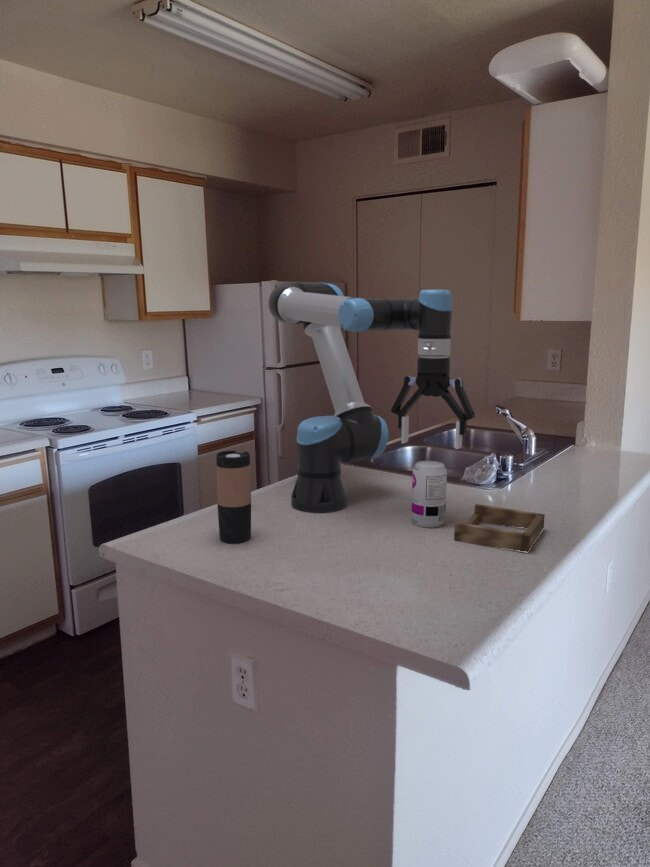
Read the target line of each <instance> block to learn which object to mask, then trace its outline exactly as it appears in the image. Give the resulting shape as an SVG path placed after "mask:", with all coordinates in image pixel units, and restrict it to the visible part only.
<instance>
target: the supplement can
mask: <svg viewBox="0 0 650 867" xmlns="http://www.w3.org/2000/svg"><path fill="white" fill-rule="evenodd" d="M414 463H415V465H414V466H413V468H412V485H411V486H412V487H411V510H410V511H411V512H410V513H411V516H410V517H411V518H410V520H411V522H413V524H414V525H415V526H418V527H421V528H428V529H429V528H431V529H432V528H434V529H435V528H439V527H441V526H443V525H444V523H445V522H446V506H447V505H446V504H447V502H446V501H447V483H448V482H447V481H448V480H447V478H448V470H447V468H446V467H445V463H443V462H441V461H436V460H420V461H417V462H414Z"/></svg>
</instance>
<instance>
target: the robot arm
mask: <svg viewBox="0 0 650 867" xmlns="http://www.w3.org/2000/svg"><path fill="white" fill-rule="evenodd" d="M452 300H453V297H452V292H451V291H450V290H448V289H422V290H420V292H419V295H418V298H365V297H354V296H353V297H352V296H346V295H344V293H343V291H342V290H341V289H340V288H339V287H338V286H337V285H335V284H333V283H327V282H296V281H295V282H294V281H293V282H290V281H289V282H284V283H282V284H281V283H280V284H279V285H277V286H276V287H275V288H274V289H273V290H272V291H271V292H270V295H269V297H268V302H267V304H268V310H269V312H270V314H271V315H272V317H273V318H274V319H275V320H277V321H279V322H280V323H283V324H290V325H291V324H292V325H293V324H294V325H301V326H302V327H303V331H304V333H305V335H306V336H309V337H310V338H311V339H312V341H313V345H314V349H315V351H316V353H317V354H316V355H317V358H318V361H319V364H320V366H321V367H320V368H321V371H322V373H323V377H324V381H325V383H326V387H327V390H328V393H329V396H330V399H331V402H332V405H333V409H334V412H335V413H334V415H323V416H321V415H319V416H312V417H310V418H307V419H304V420H302V421H301V422H300V423H299V425H298V426H297V433H296V444H297V445H296V447H297V449H296V452H297V453H296V454H297V459H296V460H297V462H296V463H297V468H296V469H297V478H296V480H295V483H294V487H293V489H292V493H291V498H290V501H291V502H290V505H291V507H292V508H294V509H296V510H299V511H301V512H302V511H303V512H309V513H330V512H336V511H340V510H343V509H345V507H347V506H348V494H347V492H346V491H347V490H346V489H345V486H344V482H343V479H342V471H341V470H342V464H345V463H350V462H351V463H352V462H357V461H361V460H362V461H363V460H364V461H365V460H370V459H373V458H377V457H379V456H381V454H383V453H384V451H385V450H386V448H387V444H388V441H389V428H388V426H387V422H386V420H385V419H384V418H382V417H381V416H379V415H376V414H374V411H373V407H372V405H369V404H367V403H365V400H364V398H363V393H362V390H361V388H360V385H359V383H358V379H357V376H356V373H355V369H354V367H353V363H352V360H351V357H350V355H349V351H348V348H347V344H346V342H345V340H344V335H343V333H342V330H341V328H343V330H345V331H347V332H354V333H361V332H373V331H374V332H376V331H378V332H379V331H381V332H383V331H384V332H385V331H389V332H390V331H418V333H417V334H418V336H417V338H418V339H417V355H419V357H418V358H417V366H416V367H417V370H416V371H417V372H416V373H417V374H416V377H415V376H412V375H410V374H409V375H407V376H404V379H403V386H402V388H401V389H400V392H399V394H398V395H397V398H396V399H395V402H394V403H393V405H392V406H391V407H392V408H391V409H390V412H391V414H395V415H396V416H397V417H398V418H397V419H398V420H397V421H398V423H397V424H398V425H397V428H398V429H399V430H401V444H405V443H408V442H409V430H410V429H409V426H410V415H407V414H408V412H409V411H411V409H412V408H413V406H414V405H415V404H417V402H418V401H419V399H420V398H421V397H423V396H424V397H435V398H438V397H441V398H442V399H443V400H444V401H445V403H446V404H447V405H448V407H449V408H450V409H451V410H452V412H453V413H454V415H455V416H456V417H457V419H458V420H457V421H456V422H455V442H454V444H455V445H454V448H455V450H459V449H461V448H462V447H463V445H462V444H463V436H464V435H466V434H467V429H468V428H467V426H468V424H467V422H468V421H469V420H472V419H474V418H475V417H476V414H475V410H474V409H473V407H472V404H471V402H470V400H469V397H468V395H467V393H466V391H465V390H466V389H464V381H463V378H461V377H459V378H456V379H455V378H454V379H451V377H450V370H451V368H450V366H451V359H450V358H449V357H448V356H450V355H451V341H452V340H451V334H452V333H451V332H452V315H453V301H452ZM414 384H416V385H417V387H418V388H417V390H415V391H414V393H413V395H412V396H411V397H410V398H409V399H408V401H407V402H406V403H405V404H404V405H403V403H404V402H405V400H406V399H407V396H408V394H409V392H410V391H411V388H412V386H414ZM450 386H452V388H453V389H455V393H456V395H457V398H458V400H459V403H460V404H458V402H457V401H456V399H455V398H454V396H453V395H452V393H451V392H450V390H449V389H448V388H449V387H450ZM460 405H461V406H462V407H461V406H460Z"/></svg>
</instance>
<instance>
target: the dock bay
mask: <svg viewBox="0 0 650 867" xmlns="http://www.w3.org/2000/svg"><path fill="white" fill-rule="evenodd" d="M473 510H474V511H473V512H474V513H473V514H472V515H471V516H470V517H469V518H468V519H467V520H466V521H465V522H460V521H456V522H455V523H454V538H453V539H454V541H456V542H461V543H467V544H472V545H473V544H474V545H478V546H483V547H488V546H490V547H489V548H493V547H498V548H497V549H499V548H505V549H506V548H507V549H513V550H520V551H527V552H528V551H529V549H530V548H531V546H532V545H533V543H534V542H535V540H536V539H537V537H538V536H539V534H540V532H541V531H542V529H543V528H544V527H545V515H546V514H545V513H544V514H543V513H539V512H538V513H537V512H531V511H525V510H516V509H511V508H506V507H505V508H503V507H497V506H491V505H486V504H478V503H476V504H475V505H474V509H473ZM480 523H484V524H490V525H495V524H496V525H497V526H501V525H505V526H504V527H507V526H514V527H524V528H527V529H526V530H525V529H524V532H520V531H515V530H508V529H503V528H502V529H501V528H498V527H497V528H496V527H491V526H490V527H489V526H484V525H479V524H480ZM539 537H540V536H539ZM537 540H538V539H537ZM535 543H536V542H535ZM533 546H534V545H533ZM531 549H532V548H531ZM529 552H530V551H529Z"/></svg>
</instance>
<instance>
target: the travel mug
mask: <svg viewBox="0 0 650 867" xmlns="http://www.w3.org/2000/svg"><path fill="white" fill-rule="evenodd" d="M215 458H216V459H215V460H216V497H217V498H216V499H217V502H216V503H217V518H218V530H219V531H218V533H219V540H220V541H221V543H222V542H223V543H226V544H235V545H236V544H242V543H245V542H248V541H250V540H251V536H252V535H251V534H252V490H251V489H252V488H251V487H252V486H251V484H252V483H251V480H252V479H251V460H250V459H251V454H250V452H249V451H247V450H246V451H245V450H244V451H243V452H237V451H236V450H233V449H232V450H224V451H219V452H217V453H216V457H215Z"/></svg>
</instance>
